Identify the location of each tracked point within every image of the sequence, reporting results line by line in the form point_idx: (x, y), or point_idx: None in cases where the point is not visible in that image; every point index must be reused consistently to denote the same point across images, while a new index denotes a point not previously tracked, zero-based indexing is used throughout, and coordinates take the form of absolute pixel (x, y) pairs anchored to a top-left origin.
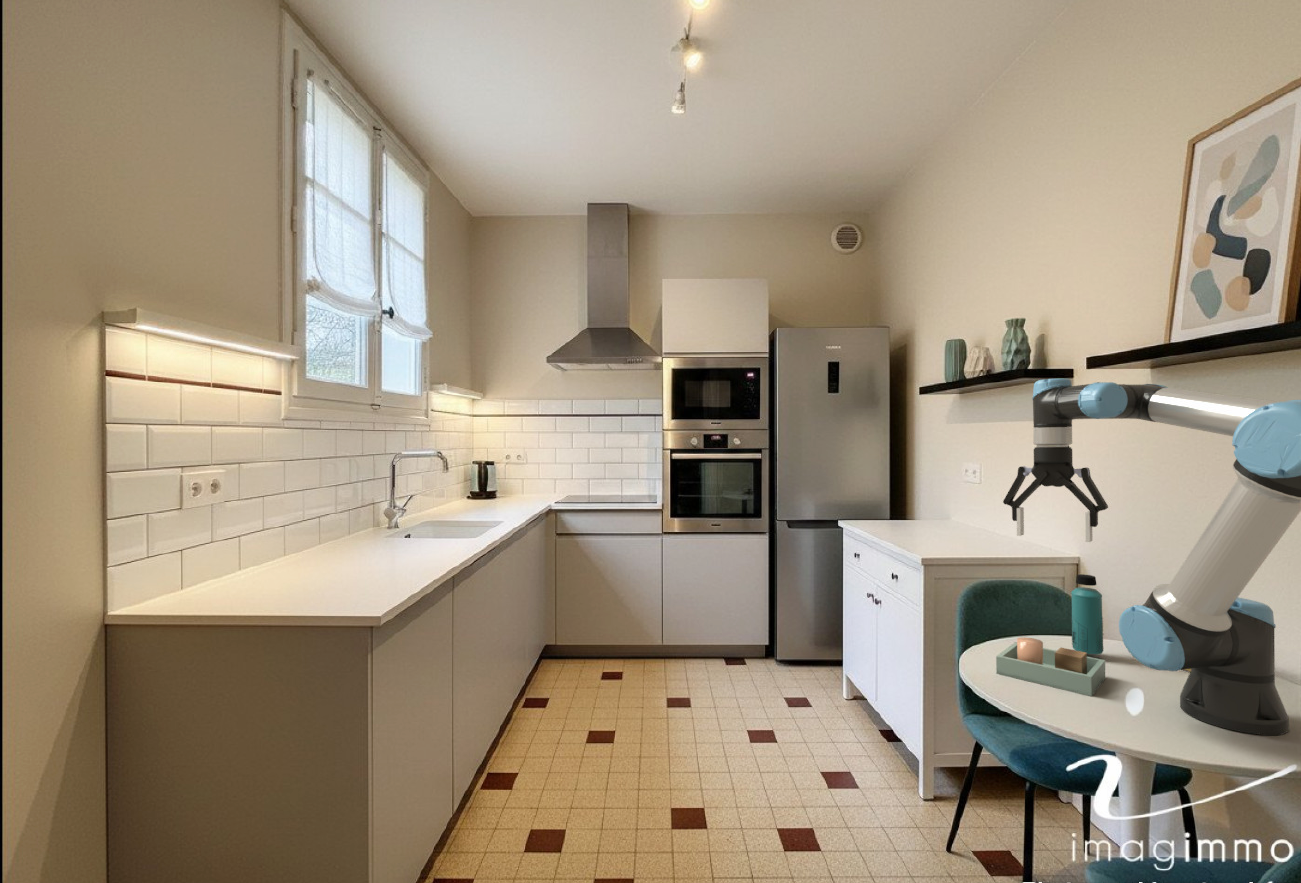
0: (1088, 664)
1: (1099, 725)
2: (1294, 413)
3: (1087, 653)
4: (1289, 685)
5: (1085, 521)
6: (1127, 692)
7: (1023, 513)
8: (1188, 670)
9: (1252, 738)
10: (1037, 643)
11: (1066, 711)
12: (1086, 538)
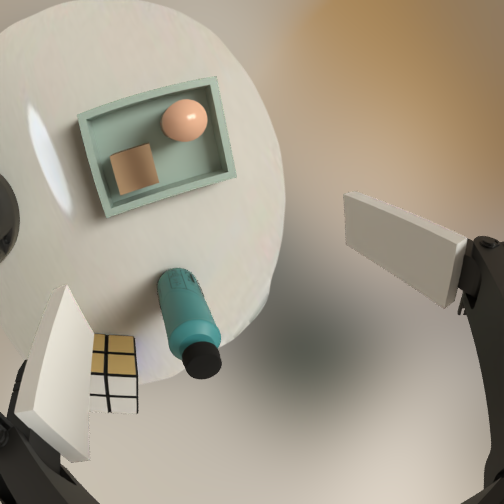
0: (125, 201)
1: (43, 37)
2: None
3: (168, 270)
4: None
5: (44, 358)
6: (66, 181)
7: (419, 288)
8: None
9: None
10: (168, 116)
11: (82, 37)
12: (61, 295)
